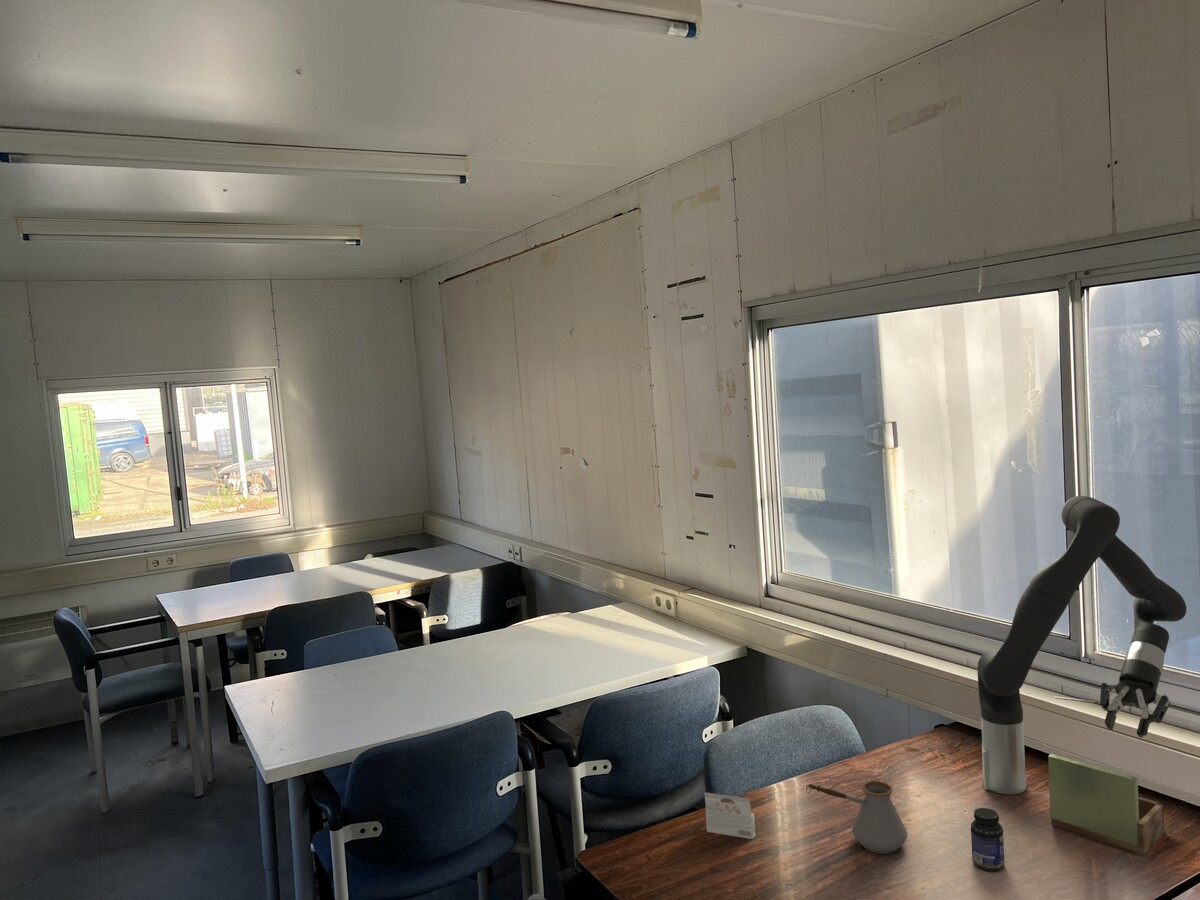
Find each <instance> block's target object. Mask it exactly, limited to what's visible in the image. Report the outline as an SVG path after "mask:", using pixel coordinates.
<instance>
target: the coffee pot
mask: <svg viewBox="0 0 1200 900" xmlns="http://www.w3.org/2000/svg"><path fill="white" fill-rule="evenodd" d="M808 788H809V791H808ZM861 789H862V791H863V793H864V798H863V799H862V798H858V797H855V796H850V795H847V794H845V793H843V792H839V791H838V790H835V789H831V788H827V787H822V786H820V785H814V784H807V785H806V787H805V792H806V794H807V795H809V794H810V793H811V791H812V790H816V791H817V792H822V793H823V794H826V795H827V796H833V797H837V798H841V799H845V800H849V801H852V802H854V803H858V804H861V805H860V808H859V810H858V813H857V815H856V818H855V820H854V822H853V825H852V828H851V829H852V830H851V831H852V833H853V836H854V839H855V840H856V841H857V842H858V843H859V844H861V845H862V846H863V847H864V848H865V849H866V851H867V850H868V851H869V852H872V853H875V852H876V853H877V854H891V853H894V852H896V851H897V850H898V849H900V848H901V847H902V846H903V845H904V844H905V843H906V841H907V838H908V831H907V830H906V829H907V828H906V827H905V825H904V823H903V820H902V819H901V817H900V815H899V814H898V811H897V809H896V807H895V805H894V803H893V801H892V799H891V794H893V790H894V788H893V787H892V785H890V784H889V783H887V782H884V781H880V780H869V781H866V782H865V783H863V784H862V786H861ZM896 849H897V850H896ZM895 850H896V851H895ZM893 851H894V852H893ZM890 852H891V853H890Z"/></svg>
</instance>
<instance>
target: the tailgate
mask: <svg viewBox="0 0 1200 900" xmlns="http://www.w3.org/2000/svg"><path fill="white" fill-rule="evenodd" d="M1047 759H1048V760H1047V761H1048V785H1049V813H1050V814H1049V816H1050V818H1054V819H1057V820H1060V821H1063V822H1066V823H1069V824H1072V825H1075V826H1078V827H1081V828H1084V829H1087V830H1090V831H1093V832H1096V833H1099V834H1102V835H1105V836H1108V837H1111V838H1114V839H1117V840H1120V841H1123V842H1126V843H1129V844H1132V845H1135V846H1137V845H1138V844H1139V843H1140V841H1139V806H1138V796H1139V778H1138V777H1137V776H1134V775H1130V774H1126V773H1122V772H1118V771H1115V770H1111V769H1109V768H1104V767H1100V766H1097V765H1093V764H1090V763H1087V762H1082V761H1079V760H1075V759H1071V758H1068V757H1064V756H1061V755H1057V754H1054V753H1050V754H1049V755H1048V757H1047Z"/></svg>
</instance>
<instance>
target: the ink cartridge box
mask: <svg viewBox="0 0 1200 900" xmlns="http://www.w3.org/2000/svg"><path fill="white" fill-rule="evenodd" d="M703 795H704V803H705V823H706V824H705V826H706V832H707V833H713V834H719V835H724V836H731V837H738V838H743V839H749V840H754V838H755V836H756V824H755V823H756V822H755V821H756V820H755V819H756V818H755V813H754V812H752V805H751V798H750V797H742V796H734V795H727V794H721V793H712V792H705V791H704V794H703ZM724 799H728V800H731V801H732V802H733V803H732V802H724V801H722V800H724Z"/></svg>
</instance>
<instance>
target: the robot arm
mask: <svg viewBox="0 0 1200 900" xmlns="http://www.w3.org/2000/svg"><path fill="white" fill-rule="evenodd" d="M1060 514H1061V520H1062V523H1063V525H1064V526H1065V527H1066V528H1067V529H1068V531H1070V532H1071V533H1073V534H1074V537H1073V539H1072V541H1071V542H1070V544H1069V546H1068V548H1067V549H1066V550H1065V551H1064V553H1063V554H1062V555H1060V556H1059V558H1056V559H1055V560H1054V561H1052V562H1051V563H1049V564H1048V565H1046V566H1044V568H1042V569H1041V570H1039V571H1038V572H1036V573H1035V575H1033V577H1032V578H1031V579H1030V581H1029V583H1028V585H1027V586H1026V588H1025V589H1024V591H1023V593H1022V594H1021V597H1020V598H1019V601H1018V603H1017V606H1016V608H1015V611H1014V616H1013V619H1012V623H1011V626H1010V629H1009V632H1008V634H1007V637H1006V638H1005V640H1004V642H1003V643H1002V645H1001V646H1000V648H993V649H989V650H986V651H985V652H984V653H983V654H981V656H980V657H979V659H978V662H977V685H978V686H977V688H978V700H979V706H980V717H981V741H982V742H981V757H982V759H981V760H982V777H983V778H982V779H983V786H984V790H986V791H991V792H994V793H998V794H1001V795H1013V796H1014V795H1019V794H1020V795H1021V794H1023V793H1024V792H1025V791H1026V789H1027V788H1026V780H1027V779H1026V765H1025V764H1026V762H1025V761H1026V760H1025V759H1026V758H1025V756H1026V755H1025V736H1024V734H1025V733H1024V715H1023V714H1024V710H1023V705H1022V700H1021V692H1020V691H1021V690H1020V689H1021V688H1022V687H1023V685H1024V683H1025V681H1026V678H1027V677H1028V675H1029V671H1030V670H1031V668H1032V665H1033V663H1034V660H1035V658H1036V656H1037V654H1038V653H1039V651H1040V650H1041V649H1042V646H1043V645H1044V643H1045V641H1046V640H1047V639H1048V637H1049V636H1050V635H1051V633H1052V631H1053V629H1054V628H1055V626H1056V625H1057V623H1058V621H1059V620H1060V618H1061V617H1062V615H1063V614H1064V612H1065V610H1067V609H1066V608H1067V607H1068V605H1069V604H1070V603H1071V600H1072V598H1073V597H1074V595H1075V593H1076V591H1077V589H1078V588H1079V586H1080V585H1081V583H1082V582H1083V580H1084V578H1085V577H1086V576H1087V574H1088V572H1089V571H1090V569H1091V568H1092V566H1093V565H1094V564H1095V562H1096V561H1097V560H1098V558H1099V559H1100V560H1101V561H1102V562H1103V563H1104V564H1105V566H1106V567H1107V569H1109V571H1110V572H1111V573H1112V574H1113V576H1114V577H1115V578H1116V579H1117V581H1118V582H1119V583H1120V584H1121V585H1122V587H1123V588H1124V589H1125V590H1126V592H1128V594H1130V596H1132V597H1133V598H1134V600H1133V605H1132V607H1133V608H1132V609H1133V617H1134V618H1133V623H1134V624H1133V625H1134V631H1133V634H1132V638H1131V641H1130V644H1129V647H1128V648H1127V652H1126V654H1125V657H1124V660H1123V663H1122V668H1121V671H1120V674H1119V677H1118V681H1117V682H1116V683H1115V684H1108V683H1106V682H1102V683H1101V684H1100V699H1099V705H1100V706H1101V708H1102V709H1103V711H1105V712H1107V713H1106V714H1105V715H1106V716H1105V719H1104V724H1105V726H1106V728H1107V729H1108V730H1109V731H1113V730H1114V726H1115V724H1116V719H1117V714H1118V713H1120V711H1121V710H1123V709H1125V707H1134V708H1136V709H1140V712H1141V716H1142V717H1140V719H1139V722H1138V726H1137V729H1136V735H1137V737H1138V738H1142V739H1143V738H1144V737H1145V736H1147V735H1148V730H1149V727H1150V724H1151V723H1157V724H1160V723H1161V722H1162V720H1163V719H1164V717H1165V715H1166V713H1167V711H1168V709H1169V707H1170V705H1171V701H1170V699H1169V697H1168V695H1166V694H1165V695H1164V694H1163V695H1161V694H1158V693H1157V690H1158V686H1159V683H1160V681H1161V676H1162V672H1163V670H1164V664H1165V656H1166V652H1167V648H1168V645H1169V640H1170V634H1169V632H1168V630H1167V629H1166V628H1164V627H1163V626H1161V625H1159V624H1156V623H1154V622H1170V623H1173V622H1178V621H1180V620H1182V619H1183V618H1184V617H1185V616H1186V614H1187V604H1186V602H1185V599H1184V598H1183V596H1182V595H1181V594H1180V593H1179V591H1177V590H1176V589H1175V588H1173V587H1172V586H1170V585H1169V584H1168V583H1166V582H1165V581H1163V580H1162V579H1160V578H1158V577H1157V576H1156V575H1155V574H1154V572H1153V571H1152V570H1151V568H1150V567H1149V566H1148V565H1147V563H1146V562H1145V561H1144V560H1143V559H1142V557H1140V556H1139V555H1138V554H1137V553H1136V552H1135V551H1133V549H1132V548H1130V547H1129V546H1128V545H1127V544H1126V543H1124V542H1123V540H1122V539H1121V538H1119V537H1118V536H1117V532H1118V530H1119V527H1120V523H1121V519H1120V518H1121V517H1120V513H1119V512H1118V511H1117V509H1115V508H1114V507H1112V506H1111V505H1109V504H1106V503H1105V502H1103V501H1100V500H1099V499H1096V498H1094V497H1090V496H1088V495H1076V496H1073V497H1070V498H1069V499H1068V500H1067V501H1066V502H1065V503H1064V504H1063V506H1062V509H1061V513H1060ZM1114 692H1116V696H1114V698H1113V700H1112V702H1111V703H1110V698H1111V696H1112V695H1113V694H1114ZM1155 701H1156V704H1157V705H1156V707H1155V708H1154V710H1153V712H1152V713H1151V712H1150V709H1149V705H1150V704H1152V703H1153V702H1155Z"/></svg>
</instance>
